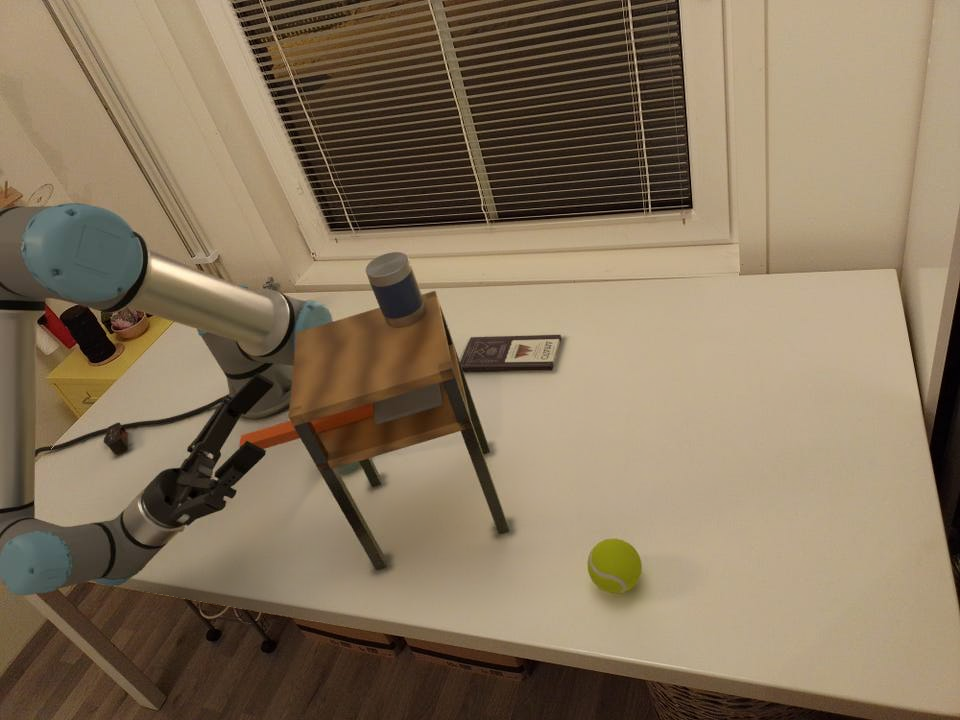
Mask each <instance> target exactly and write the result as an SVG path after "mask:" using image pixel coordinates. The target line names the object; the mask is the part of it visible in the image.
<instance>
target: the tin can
mask: <svg viewBox="0 0 960 720" xmlns="http://www.w3.org/2000/svg"><path fill="white" fill-rule="evenodd" d="M365 273H366V276H367V279H368V283H369V284H370V288H371V289H372V291H373V294H374V297H375V299H376V302H377V304H378V308H380V309H381V312H382V314H383V316H384V318H385V320H386V323H387V324H388V325H389V326H391V327H397V328H399V327H406V326H409V325H412V324H414V323H416V322H417V321H419V320H420V319H421V318H422V317H423V316H424V315H425V313H426V306H425V304H424V301H423V297H422V295H423V294H422V292H421V289H420V286H419V284H418V280H417V278H416V275H415V274H416V273H415V272H414V269H413V266H412V265H411V261H410V259H409V257H408V254H406V253H405V252H401V251H392V252H388V253H384V254H381V255H379V256H377V257H375V258H373V259H372V260H370V262H368V264H367V265H366V267H365Z"/></svg>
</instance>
